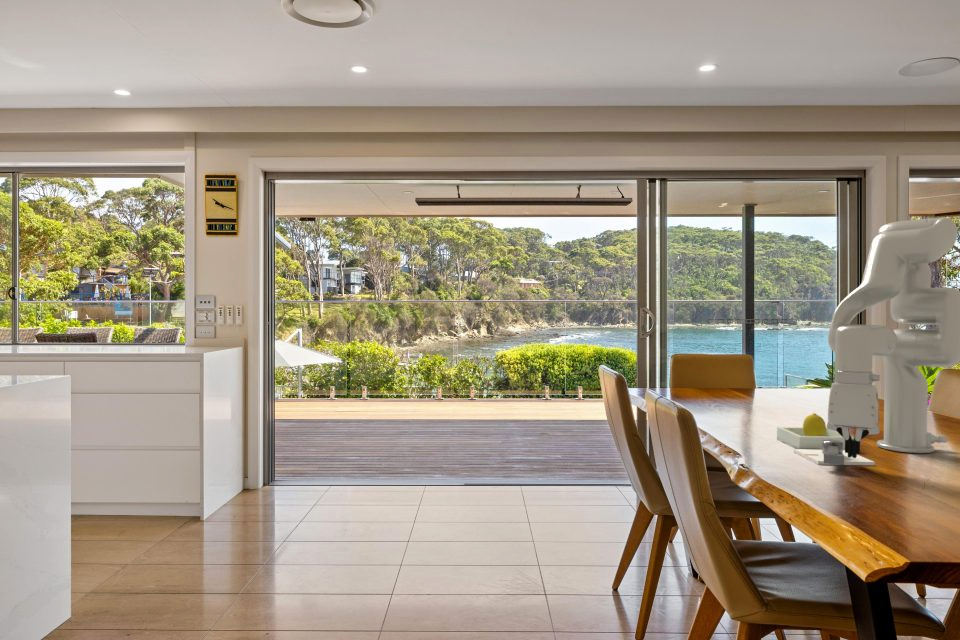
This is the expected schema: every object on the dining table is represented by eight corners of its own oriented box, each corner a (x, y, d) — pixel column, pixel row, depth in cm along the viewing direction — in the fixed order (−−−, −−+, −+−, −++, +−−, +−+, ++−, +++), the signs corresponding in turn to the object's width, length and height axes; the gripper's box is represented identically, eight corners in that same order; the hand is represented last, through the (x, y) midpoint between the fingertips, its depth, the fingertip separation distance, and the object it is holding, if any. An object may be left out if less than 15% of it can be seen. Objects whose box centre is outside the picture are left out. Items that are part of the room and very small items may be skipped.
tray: (827, 440, 178) (828, 427, 178) (854, 451, 164) (854, 437, 164) (776, 439, 179) (777, 427, 179) (799, 450, 165) (799, 436, 165)
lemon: (820, 441, 174) (821, 411, 174) (829, 445, 168) (829, 415, 168) (799, 440, 175) (799, 411, 175) (807, 444, 169) (807, 414, 169)
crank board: (845, 453, 162) (845, 449, 162) (874, 465, 149) (874, 461, 149) (793, 452, 163) (793, 448, 163) (817, 464, 150) (817, 460, 150)
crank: (822, 450, 159) (822, 439, 159) (842, 452, 157) (842, 440, 157) (822, 465, 144) (822, 451, 144) (845, 467, 142) (845, 454, 142)
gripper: (892, 379, 147) (891, 458, 147) (819, 375, 156) (818, 449, 156) (890, 382, 141) (889, 464, 141) (815, 377, 150) (814, 455, 150)
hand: (852, 456), depth 149 cm, fingers closed
